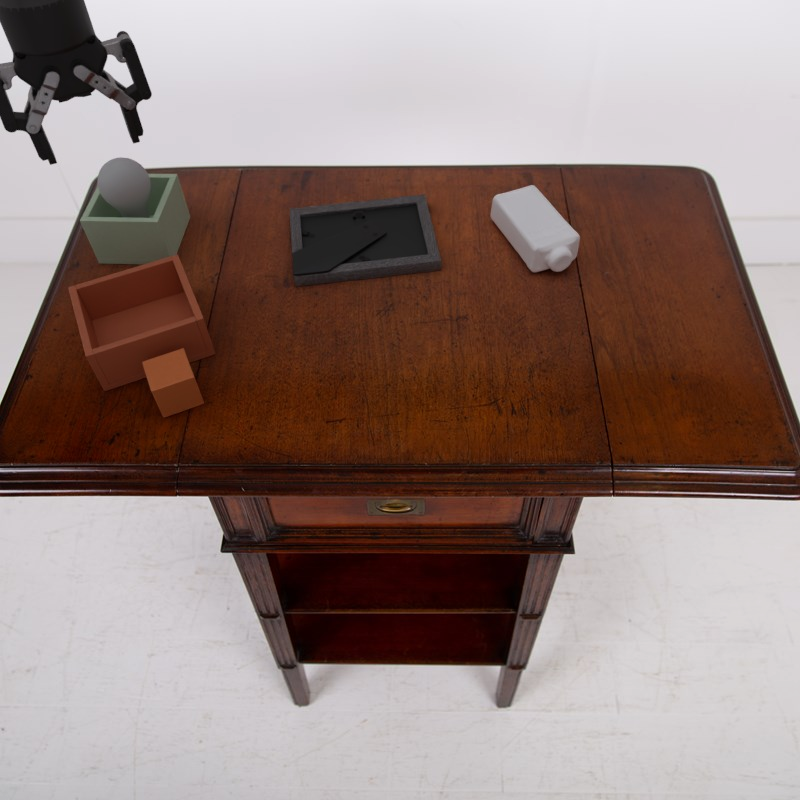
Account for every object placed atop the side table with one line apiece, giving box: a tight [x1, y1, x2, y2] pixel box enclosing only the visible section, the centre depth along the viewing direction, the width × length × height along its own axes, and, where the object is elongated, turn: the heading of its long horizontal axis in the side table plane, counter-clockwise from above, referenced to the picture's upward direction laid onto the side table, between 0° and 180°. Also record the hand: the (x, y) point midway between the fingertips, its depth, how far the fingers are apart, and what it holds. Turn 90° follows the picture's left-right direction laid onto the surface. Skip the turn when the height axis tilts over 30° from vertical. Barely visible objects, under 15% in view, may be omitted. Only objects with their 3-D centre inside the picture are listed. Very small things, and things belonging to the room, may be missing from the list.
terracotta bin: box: [67, 253, 216, 392], centre depth 85 cm, size 13×12×6 cm
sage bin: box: [79, 173, 191, 265], centre depth 96 cm, size 10×10×7 cm
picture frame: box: [289, 193, 442, 287], centre depth 96 cm, size 13×2×18 cm
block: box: [142, 348, 205, 418], centre depth 80 cm, size 4×4×4 cm
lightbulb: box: [96, 156, 151, 218], centre depth 94 cm, size 6×6×11 cm
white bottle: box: [490, 184, 581, 273], centre depth 94 cm, size 6×13×4 cm, turn 22°
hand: (94, 149), depth 79 cm, fingers open, 8 cm apart
